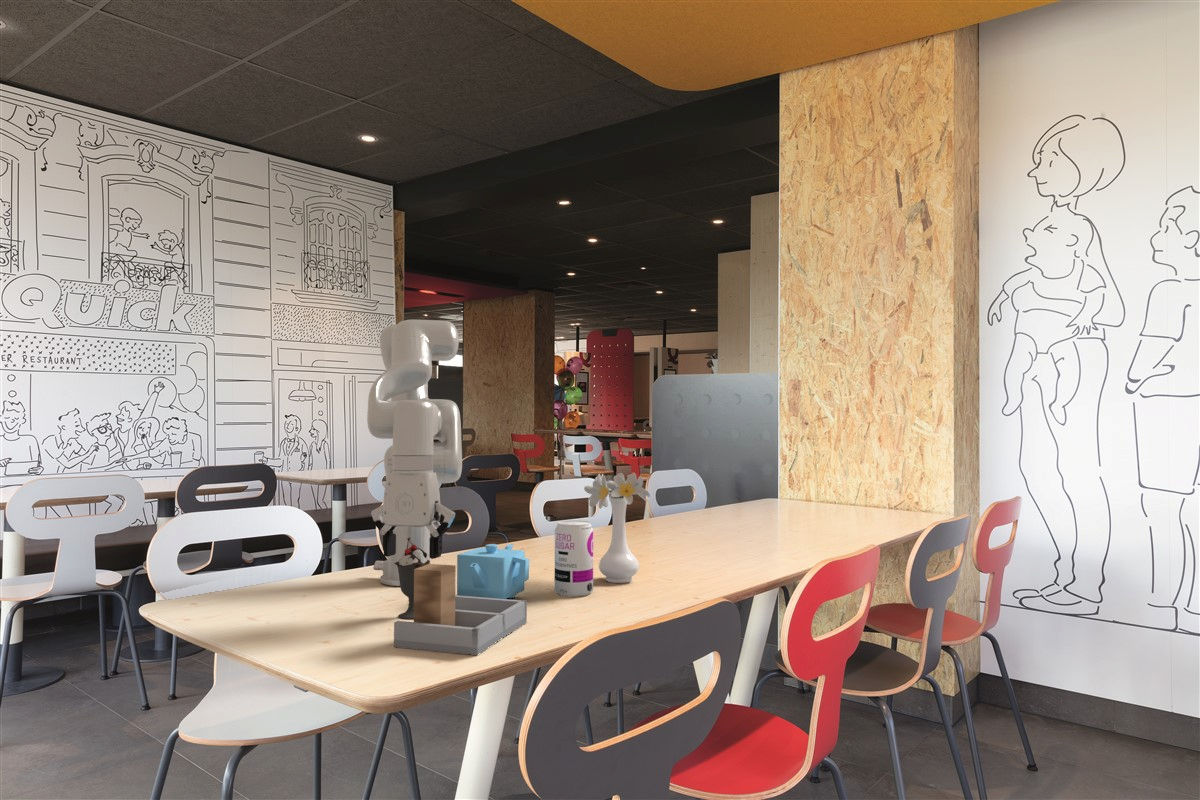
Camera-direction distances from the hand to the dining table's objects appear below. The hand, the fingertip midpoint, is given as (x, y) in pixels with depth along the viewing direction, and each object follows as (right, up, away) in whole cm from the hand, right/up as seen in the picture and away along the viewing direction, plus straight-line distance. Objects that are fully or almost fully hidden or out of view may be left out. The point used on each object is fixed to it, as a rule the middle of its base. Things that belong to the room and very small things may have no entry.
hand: (412, 556), depth 143 cm
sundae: (0, -12, 0) cm, 11 cm away
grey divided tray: (+12, -11, -12) cm, 20 cm away
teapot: (+13, -12, +14) cm, 23 cm away
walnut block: (+7, -10, -15) cm, 20 cm away
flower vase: (+39, -12, +32) cm, 52 cm away
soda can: (+30, -12, +19) cm, 37 cm away
